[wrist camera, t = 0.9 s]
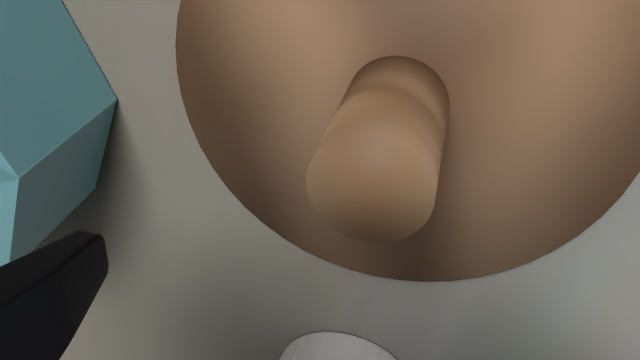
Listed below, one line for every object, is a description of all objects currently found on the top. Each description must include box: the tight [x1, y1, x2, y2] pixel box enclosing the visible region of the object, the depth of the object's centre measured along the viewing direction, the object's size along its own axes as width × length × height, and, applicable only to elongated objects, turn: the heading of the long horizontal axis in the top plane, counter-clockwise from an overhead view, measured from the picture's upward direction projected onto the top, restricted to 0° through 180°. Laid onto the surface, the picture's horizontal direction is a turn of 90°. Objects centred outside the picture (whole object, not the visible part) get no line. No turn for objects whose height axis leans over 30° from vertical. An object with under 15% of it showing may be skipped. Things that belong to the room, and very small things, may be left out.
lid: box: [176, 0, 640, 281], centre depth 15 cm, size 14×14×5 cm
